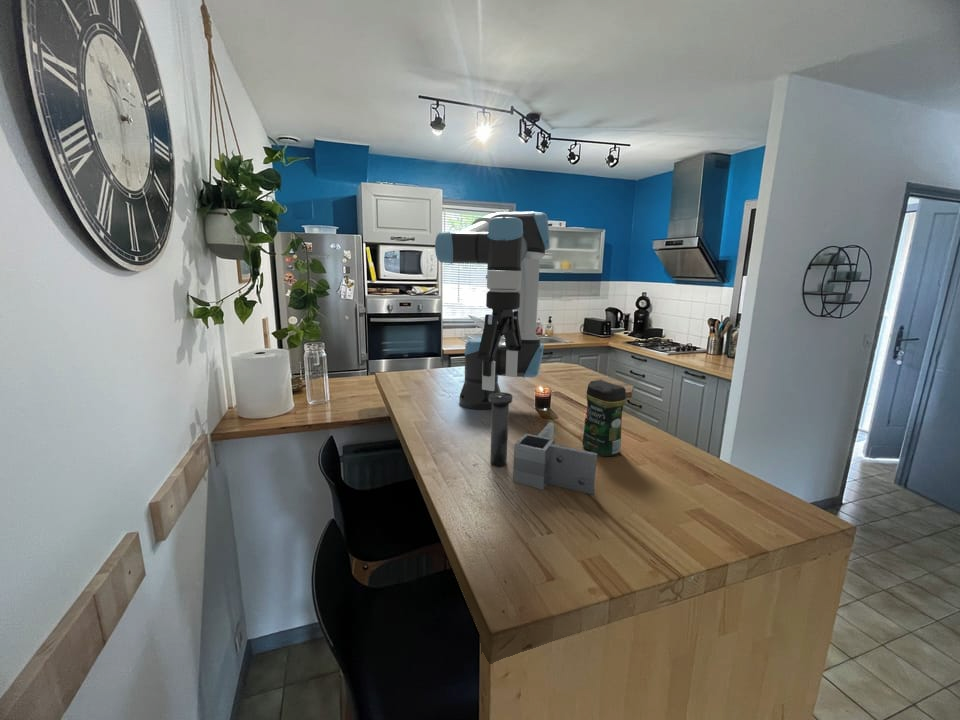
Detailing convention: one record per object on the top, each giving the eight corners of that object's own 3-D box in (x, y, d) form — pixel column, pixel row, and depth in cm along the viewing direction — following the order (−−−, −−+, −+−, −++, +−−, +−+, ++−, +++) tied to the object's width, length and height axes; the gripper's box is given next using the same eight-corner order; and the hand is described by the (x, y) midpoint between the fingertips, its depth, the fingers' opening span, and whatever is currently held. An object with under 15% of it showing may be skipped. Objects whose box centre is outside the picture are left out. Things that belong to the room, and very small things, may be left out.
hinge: (536, 452, 107) (538, 420, 105) (604, 467, 100) (607, 432, 98) (512, 482, 92) (514, 444, 90) (590, 501, 85) (593, 461, 83)
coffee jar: (576, 446, 112) (581, 379, 108) (597, 440, 116) (603, 376, 112) (604, 460, 104) (610, 389, 100) (625, 453, 108) (632, 385, 104)
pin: (492, 456, 105) (494, 391, 101) (513, 460, 102) (516, 394, 99) (483, 465, 100) (484, 397, 96) (504, 470, 97) (507, 400, 94)
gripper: (508, 288, 105) (505, 369, 109) (461, 292, 83) (460, 393, 87) (537, 289, 101) (533, 373, 106) (496, 293, 79) (493, 399, 84)
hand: (500, 382), depth 97 cm, fingers open, 13 cm apart
